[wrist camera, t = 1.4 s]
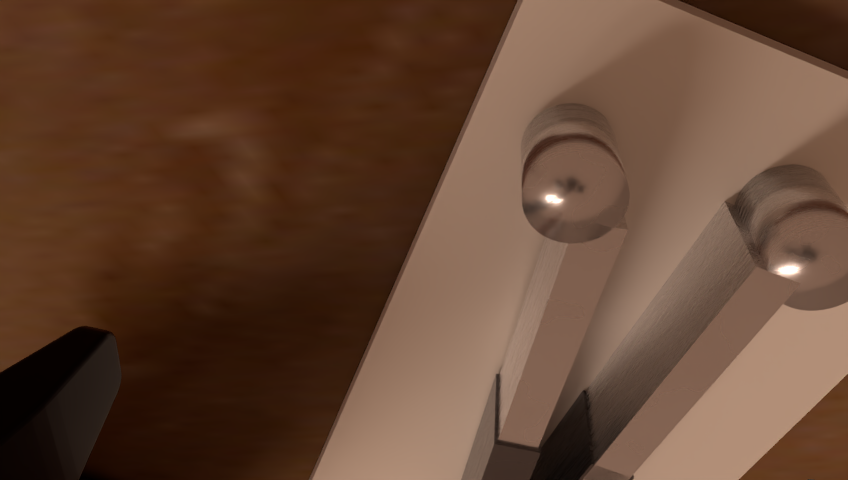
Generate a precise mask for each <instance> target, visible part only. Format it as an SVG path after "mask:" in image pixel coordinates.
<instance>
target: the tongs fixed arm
mask: <svg viewBox="0 0 848 480" xmlns="http://www.w3.org/2000/svg"><path fill="white" fill-rule="evenodd" d="M846 302H848V208H847V207H846V205H845V204H844V203H843V201H842V200H841V199H840V198H839V196H838V195H837V194H836V192H835V191H834V190H833V188H832V187H831V186H830V184H829V183H828V182H827V180H826V179H825V178H824V176H823V175H822V174H820V173H819V172H818V171H816V170H814V169H812V168H810V167H807V166H803V165H794V164H791V165H781V166H777V167H773V168H770V169H768V170H765V171H763V172H761V173H760V174H758V175H756V176H755V177H754V178H752V179H751V180H750V181H749V182H748V183H747V184H746V185H745V186H744V187H743V188H742V190H741V191H740V193H739V195H738V197H737V199H736V202H735V205H733V204H731V203H728V202H726V201H724V203H723V204H722V205H721V207H720V208H719V209H718V211H717V212H716V213H715V215H714V216H713V218H712V219H711V220H710V222H709V223H708V224H707V226H706V227H705V229H704V230H703V231H702V233H701V234H700V235H699V237H698V238H697V239H696V241H695V242H694V244H693V245H692V246H691V248H690V249H689V250H688V252H687V253H686V255H685V256H684V257H683V259H682V260H681V261H680V263H679V264H678V265H677V267H676V268H675V270H674V271H673V272H672V274H671V275H670V276H669V278H668V279H667V281H666V282H665V283H664V285H663V286H662V287H661V289H660V290H659V292H658V293H657V294H656V296H655V297H654V298H653V300H652V301H651V302H650V304H649V305H648V307H647V308H646V309H645V311H644V312H643V313H642V315H641V316H640V318H639V319H638V320H637V322H636V323H635V324H634V326H633V327H632V328H631V330H630V331H629V333H628V334H627V335H626V337H625V338H624V339H623V341H622V342H621V344H620V345H619V346H618V348H617V349H616V350H615V352H614V353H613V354H612V356H611V357H610V359H609V360H608V361H607V363H606V364H605V365H604V367H603V368H602V370H601V371H600V372H599V374H598V375H597V376H596V378H595V379H594V380H593V382H592V383H591V385H590V386H589V387H588V389H587V390H586V391H585V390H583V391H582V392H581V394H580V395H579V396H578V398H577V399H576V401H575V402H574V403H573V405H572V406H571V407H570V409H569V410H568V412H567V413H566V414H565V416H564V417H563V418H562V420H561V421H560V423H559V424H558V425H557V427H556V428H555V429H554V431H553V432H552V434H551V435H550V436H549V438H548V439H547V440H546V442H545V443H544V445H543V446H542V447H541V454H540V456H539V458H538V461H537V463H536V466H535V468H534V470H533V473H532V475H531V478H530V480H633V479H634V475H633V474H634V473H635V472H636V471H637V470H638V468H639V467H640V466H641V465H642V464H643V463H644V462H645V460H646V459H647V458H648V457H649V456H650V455H651V454H652V453H653V451H654V450H655V449H656V448H657V447H658V446H659V445H660V443H661V442H662V441H663V440H664V439H665V438H666V437H667V435H668V434H669V433H670V432H671V431H672V430H673V429H674V428H675V426H676V425H677V424H678V423H679V422H680V421H681V420H682V418H683V417H684V416H685V415H686V414H687V413H688V412H689V411H690V409H691V408H692V407H693V406H694V405H695V404H696V403H697V401H698V400H699V399H700V398H701V397H702V396H703V395H704V393H705V392H706V391H707V390H708V389H709V388H710V387H711V386H712V384H713V383H714V382H715V381H716V380H717V379H718V378H719V376H720V375H721V374H722V373H723V372H724V371H725V370H726V368H727V367H728V366H729V365H730V364H731V363H732V362H733V361H734V359H735V358H736V357H737V356H738V355H739V354H740V353H741V351H742V350H743V349H744V348H745V347H746V346H747V345H748V343H749V342H750V341H751V340H752V339H753V338H754V337H755V336H756V334H757V333H758V332H759V331H760V330H761V329H762V328H763V326H764V325H765V324H766V323H767V322H768V321H769V320H770V318H771V317H772V316H773V315H774V314H775V313H776V312H777V311H778V309H779V308H780V307H781V306H782V305H783V304H784V305H786V306H788V307H791V308H794V309H798V310H805V311H818V310H825V309H830V308H833V307H837V306H839V305H842V304H844V303H846Z"/></svg>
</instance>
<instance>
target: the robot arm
mask: <svg viewBox="0 0 848 480" xmlns="http://www.w3.org/2000/svg"><path fill="white" fill-rule="evenodd" d="M120 383H121V367H120V361H119V355H118V349H117V343H116V339H115V336H114V335H113V333H112V332H110V331H107V330H102V329H98V328H93V327H88V326H81V327H78V328H75V329H73V330H72V331H70V332H68V333H67V334H65V335H63V336H62V337H60V338H58V339H56V340H55V341H53V342H51V343H50V344H48V345H46V346H45V347H43V348H41V349H39V350H38V351H36V352H34V353H33V354H31V355H29V356H28V357H26V358H24V359H23V360H21V361H19V362H17V363H16V364H14V365H12V366H11V367H9V368H7V369H6V370H4V371H2V372H0V480H91V479H88V478H84V477H81V474H82V471H83V469H84V467H85V465H86V462H87V460H88V458H89V456H90V453H91V451H92V449H93V447H94V444H95V442H96V440H97V438H98V435H99V433H100V431H101V429H102V426H103V424H104V422H105V420H106V417H107V415H108V413H109V411H110V408H111V406H112V404H113V402H114V399H115V397H116V395H117V392H118V390H119V387H120ZM808 480H813V479H808Z"/></svg>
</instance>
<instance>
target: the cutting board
mask: <svg viewBox="0 0 848 480" xmlns="http://www.w3.org/2000/svg"><path fill="white" fill-rule="evenodd" d="M564 103H577V104H583V105H587V106H589V107H592V108H594V109H595V110H597V111H599V112H600V113H601V114H602V115H604V117H605V118H606V119H607V120H608V121H609V123H610V124H611V126H612V128H613V131H614V135H615V138H616V142H617V146H618V149H619V153H620V157H621V160H622V164H623V167H624V171H625V175H626V178H627V182H628V186H629V192H630V199H629V205H628V208H627V211H626V213H625V215H624V216H625V220H626V224H627V228H628V231H627V234H626V236H625V238H624V241H623V243H622V246H621V248H620V251H619V253H618V255H617V258H616V260H615V263H614V265H613V268H612V270H611V272H610V275H609V277H608V280H607V282H606V284H605V287H604V289H603V292H602V294H601V297H600V299H599V301H598V304H597V306H596V309H595V311H594V314H593V316H592V318H591V321H590V323H589V326H588V328H587V331H586V333H585V335H584V338H583V340H582V343H581V345H580V347H579V350H578V352H577V355H576V357H575V360H574V362H573V364H572V367H571V369H570V372H569V374H568V377H567V379H566V381H565V384H564V386H563V389H562V391H561V394H560V396H559V398H558V401H557V403H556V406H555V408H554V411H553V413H552V415H551V418H550V420H549V423H548V425H547V427H546V430H545V432H544V435H543V437H542V440H541V442H540V448H541V447H542V446H543V445H544V443H545V442H546V440H547V439H548V438H549V436H550V435H551V434H552V432H553V431H554V429H555V428H556V427H557V425H558V424H559V423H560V421H561V420H562V418H563V417H564V416H565V414H566V413H567V412H568V410H569V409H570V407H571V406H572V405H573V403H574V402H575V401H576V399H577V398H578V396H579V395H580V394H581V392H582V391H583V390H585V391H586V390H587V389H588V387H589V386H590V385H591V383H592V382H593V380H594V379H595V378H596V376H597V375H598V374H599V372H600V371H601V370H602V368H603V367H604V365H605V364H606V363H607V361H608V360H609V359H610V357H611V356H612V354H613V353H614V352H615V350H616V349H617V348H618V346H619V345H620V344H621V342H622V341H623V339H624V338H625V337H626V335H627V334H628V333H629V331H630V330H631V328H632V327H633V326H634V324H635V323H636V322H637V320H638V319H639V318H640V316H641V315H642V313H643V312H644V311H645V309H646V308H647V307H648V305H649V304H650V302H651V301H652V300H653V298H654V297H655V296H656V294H657V293H658V292H659V290H660V289H661V287H662V286H663V285H664V283H665V282H666V281H667V279H668V278H669V276H670V275H671V274H672V272H673V271H674V270H675V268H676V267H677V265H678V264H679V263H680V261H681V260H682V259H683V257H684V256H685V255H686V253H687V252H688V250H689V249H690V248H691V246H692V245H693V244H694V242H695V241H696V239H697V238H698V237H699V235H700V234H701V233H702V231H703V230H704V229H705V227H706V226H707V224H708V223H709V222H710V220H711V219H712V218H713V216H714V215H715V213H716V212H717V211H718V209H719V208H720V207H721V205H722V204H723V203H724V201H726V202H728V203H731V204H733V205H735V202H736V199H737V197H738V195H739V193H740V191H741V190H742V188H743V187H744V186H745V185H746V184H747V183H748V182H749V181H750V180H751V179H752V178H754V177H755V176H756V175H758V174H760V173H761V172H763V171H765V170H768V169H770V168H773V167H777V166H781V165H791V164H794V165H803V166H807V167H810V168H812V169H814V170H816V171H818V172H819V173H820V174H822V175H823V176H824V178H825V179H826V180H827V182H828V183H829V184H830V186H831V187H832V188H833V190H834V191H835V192H836V194H837V195H838V196H839V198H840V199H841V200H842V201H843V203H844V204H845V205H846V207H847V208H848V71H847V70H844V69H842V68H839V67H837V66H835V65H832V64H830V63H827V62H825V61H823V60H820V59H818V58H815V57H813V56H811V55H808V54H806V53H803V52H801V51H799V50H796V49H794V48H791V47H789V46H787V45H784V44H782V43H779V42H777V41H775V40H772V39H770V38H768V37H765V36H763V35H760V34H758V33H756V32H753V31H751V30H748V29H746V28H744V27H741V26H739V25H736V24H734V23H732V22H729V21H727V20H724V19H722V18H720V17H717V16H715V15H712V14H710V13H708V12H705V11H703V10H701V9H698V8H696V7H693V6H691V5H689V4H686V3H684V2H681V1H679V0H518V1H517V3H516V5H515V8H514V10H513V12H512V15H511V17H510V19H509V21H508V24H507V26H506V28H505V31H504V33H503V35H502V38H501V40H500V42H499V44H498V47H497V49H496V51H495V54H494V56H493V58H492V61H491V63H490V65H489V67H488V70H487V72H486V74H485V77H484V79H483V81H482V84H481V86H480V88H479V90H478V93H477V95H476V97H475V100H474V102H473V104H472V106H471V109H470V111H469V113H468V116H467V118H466V120H465V123H464V125H463V127H462V129H461V132H460V134H459V136H458V139H457V141H456V143H455V146H454V148H453V150H452V152H451V155H450V157H449V159H448V162H447V164H446V166H445V169H444V171H443V173H442V175H441V178H440V180H439V182H438V185H437V187H436V189H435V191H434V194H433V196H432V198H431V201H430V203H429V205H428V208H427V210H426V212H425V214H424V217H423V219H422V221H421V224H420V226H419V228H418V231H417V233H416V235H415V237H414V240H413V242H412V244H411V247H410V249H409V251H408V254H407V256H406V258H405V260H404V263H403V265H402V267H401V270H400V272H399V274H398V276H397V279H396V281H395V283H394V286H393V288H392V290H391V293H390V295H389V297H388V299H387V302H386V304H385V306H384V309H383V311H382V313H381V316H380V318H379V320H378V322H377V325H376V327H375V329H374V332H373V334H372V336H371V339H370V341H369V343H368V345H367V348H366V350H365V352H364V355H363V357H362V359H361V361H360V364H359V366H358V368H357V371H356V373H355V375H354V378H353V380H352V382H351V384H350V387H349V389H348V391H347V394H346V396H345V398H344V401H343V403H342V405H341V407H340V410H339V412H338V414H337V417H336V419H335V421H334V424H333V426H332V428H331V430H330V433H329V435H328V437H327V440H326V442H325V444H324V446H323V449H322V451H321V453H320V456H319V458H318V460H317V463H316V465H315V467H314V469H313V472H312V474H311V476H310V479H309V480H461V479H462V476H463V473H464V470H465V467H466V464H467V461H468V458H469V455H470V452H471V449H472V445H473V442H474V439H475V436H476V433H477V430H478V427H479V424H480V421H481V418H482V415H483V412H484V409H485V406H486V403H487V400H488V397H489V394H490V391H491V388H492V385H493V382H494V379H495V375H496V374H500V372H501V369H502V366H503V363H504V360H505V357H506V354H507V351H508V348H509V345H510V342H511V339H512V336H513V333H514V330H515V327H516V324H517V321H518V318H519V315H520V312H521V309H522V306H523V303H524V300H525V297H526V294H527V291H528V288H529V285H530V282H531V279H532V276H533V273H534V270H535V267H536V264H537V261H538V258H539V255H540V252H541V249H542V246H543V243H544V240H545V236H543V235H541V234H540V233H539V232H537V231H536V230H535V229H534V228H533V227H532V226H531V225H530V223H529V222H528V220H527V219H526V216H525V214H524V211H523V207H522V182H521V141H522V136H523V134H524V131H525V129H526V127H527V126H528V124H529V123H530V122H531V120H532V119H533V118H534V117H535V116H537V115H538V114H539V113H541V112H542V111H544V110H545V109H547V108H549V107H552V106H555V105H559V104H564ZM847 374H848V302H846V303H844V304H842V305H839V306H837V307H833V308H830V309H825V310H818V311H805V310H798V309H794V308H791V307H788V306H786V305H784V304H783V305H782V306H781V307H780V308H779V309H778V311H777V312H776V313H775V314H774V315H773V316H772V317H771V318H770V320H769V321H768V322H767V323H766V324H765V325H764V326H763V328H762V329H761V330H760V331H759V332H758V333H757V334H756V336H755V337H754V338H753V339H752V340H751V341H750V342H749V343H748V345H747V346H746V347H745V348H744V349H743V350H742V351H741V353H740V354H739V355H738V356H737V357H736V358H735V359H734V361H733V362H732V363H731V364H730V365H729V366H728V367H727V368H726V370H725V371H724V372H723V373H722V374H721V375H720V376H719V378H718V379H717V380H716V381H715V382H714V383H713V384H712V386H711V387H710V388H709V389H708V390H707V391H706V392H705V393H704V395H703V396H702V397H701V398H700V399H699V400H698V401H697V403H696V404H695V405H694V406H693V407H692V408H691V409H690V411H689V412H688V413H687V414H686V415H685V416H684V417H683V418H682V420H681V421H680V422H679V423H678V424H677V425H676V426H675V428H674V429H673V430H672V431H671V432H670V433H669V434H668V435H667V437H666V438H665V439H664V440H663V441H662V442H661V443H660V445H659V446H658V447H657V448H656V449H655V450H654V451H653V453H652V454H651V455H650V456H649V457H648V458H647V459H646V460H645V462H644V463H643V464H642V465H641V466H640V467H639V468H638V470H637V471H636V472H635V473H634V474H633V475H634V479H633V480H738V479H740V478H741V477H742V476H743V475H744V474H745V473H746V472H747V471H748V470H749V469H750V468H751V467H752V466H753V465H754V464H755V463H756V462H757V461H758V460H759V459H760V458H761V457H762V456H763V455H764V454H765V453H766V452H767V451H768V450H769V449H771V448H772V447H773V446H774V445H775V444H776V443H777V442H778V441H779V440H780V439H781V438H782V437H783V436H784V435H785V434H786V433H787V432H788V431H789V430H790V429H791V428H792V427H793V426H794V425H795V424H796V423H797V422H798V421H799V420H800V419H801V418H803V417H804V416H805V415H806V414H807V413H808V412H809V411H810V410H811V409H812V408H813V407H814V406H815V405H816V404H817V403H818V402H819V401H820V400H821V399H822V398H823V397H824V396H825V395H826V394H827V393H828V392H829V391H830V390H831V389H832V388H834V387H835V386H836V385H837V384H838V383H839V382H840V381H841V380H842V379H843V378H844V377H845V376H846V375H847Z"/></svg>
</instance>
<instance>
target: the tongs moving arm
mask: <svg viewBox="0 0 848 480" xmlns="http://www.w3.org/2000/svg"><path fill="white" fill-rule="evenodd" d="M521 182H522V207H523V211H524V214H525V216H526V219H527V220H528V222H529V223H530V225H531V226H532V227H533V228H534V229H535V230H536V231H537V232H539V233H540V234H541V235H543V236H545V240H544V243H543V246H542V249H541V252H540V255H539V258H538V261H537V264H536V267H535V270H534V273H533V276H532V279H531V282H530V285H529V288H528V291H527V294H526V297H525V300H524V303H523V306H522V309H521V312H520V315H519V318H518V321H517V324H516V327H515V330H514V333H513V336H512V339H511V342H510V345H509V348H508V351H507V354H506V357H505V360H504V363H503V366H502V369H501V372H500V374H496V375H495V379H494V382H493V385H492V388H491V391H490V394H489V397H488V400H487V403H486V406H485V409H484V412H483V415H482V418H481V421H480V424H479V427H478V430H477V433H476V436H475V439H474V442H473V445H472V449H471V452H470V455H469V458H468V461H467V464H466V467H465V470H464V473H463V476H462V479H461V480H530V478H531V475H532V473H533V470H534V468H535V466H536V463H537V461H538V458H539V456H540V454H541V448H540V442H541V440H542V437H543V435H544V432H545V430H546V427H547V425H548V423H549V420H550V418H551V415H552V413H553V411H554V408H555V406H556V403H557V401H558V398H559V396H560V394H561V391H562V389H563V386H564V384H565V381H566V379H567V377H568V374H569V372H570V369H571V367H572V364H573V362H574V360H575V357H576V355H577V352H578V350H579V347H580V345H581V343H582V340H583V338H584V335H585V333H586V331H587V328H588V326H589V323H590V321H591V318H592V316H593V314H594V311H595V309H596V306H597V304H598V301H599V299H600V297H601V294H602V292H603V289H604V287H605V284H606V282H607V280H608V277H609V275H610V272H611V270H612V268H613V265H614V263H615V260H616V258H617V255H618V253H619V251H620V248H621V246H622V243H623V241H624V238H625V236H626V234H627V231H628V228H627V224H626V220H625V216H624V215H625V213H626V211H627V208H628V205H629V199H630V192H629V186H628V182H627V178H626V175H625V171H624V167H623V164H622V160H621V157H620V153H619V149H618V146H617V142H616V138H615V135H614V131H613V128H612V126H611V124H610V123H609V121H608V120H607V119H606V118H605V117H604V115H602V114H601V113H600V112H599V111H597V110H595V109H594V108H592V107H589V106H587V105H583V104H577V103H564V104H559V105H555V106H552V107H549V108H547V109H545V110H544V111H542V112H541V113H539V114H538V115H537V116H535V117H534V118H533V119H532V120H531V122H530V123H529V124H528V126H527V127H526V129H525V131H524V134H523V136H522V141H521Z"/></svg>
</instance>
